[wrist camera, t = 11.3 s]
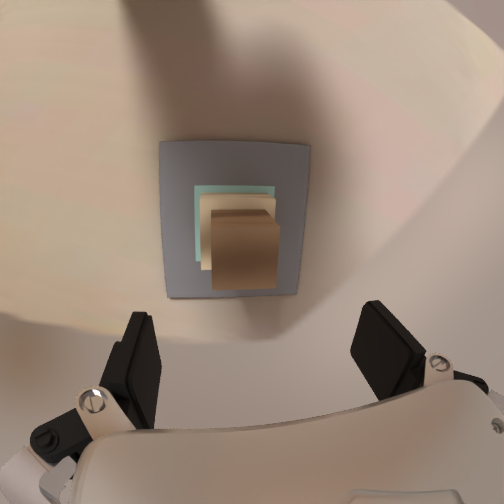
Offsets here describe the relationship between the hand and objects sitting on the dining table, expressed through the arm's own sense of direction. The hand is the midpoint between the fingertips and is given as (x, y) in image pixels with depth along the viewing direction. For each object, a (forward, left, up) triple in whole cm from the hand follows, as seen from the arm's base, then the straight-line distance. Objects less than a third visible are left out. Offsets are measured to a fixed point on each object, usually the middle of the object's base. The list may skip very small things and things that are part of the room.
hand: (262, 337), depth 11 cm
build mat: (+1, 0, -20) cm, 20 cm away
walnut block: (+1, 0, -16) cm, 16 cm away
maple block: (+1, 0, -20) cm, 20 cm away
